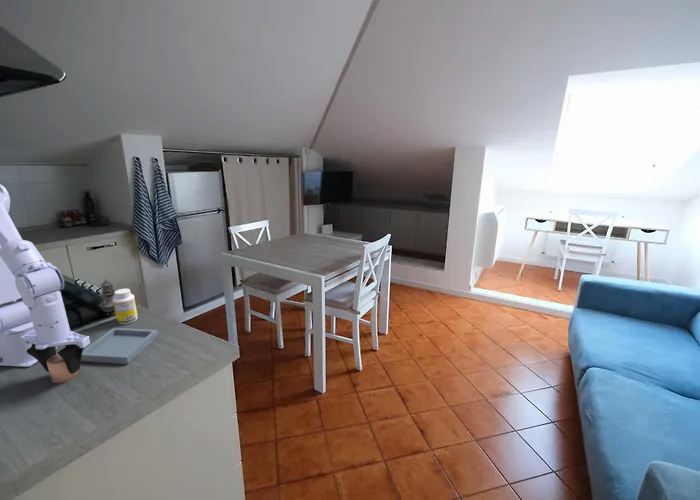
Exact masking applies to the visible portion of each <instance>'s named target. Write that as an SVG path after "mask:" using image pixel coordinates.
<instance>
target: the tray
mask: <svg viewBox="0 0 700 500" xmlns="http://www.w3.org/2000/svg"><path fill="white" fill-rule="evenodd" d="M158 337H159V329H148V328H147V329H145V328H130V327H128V328H127V327H126V328H125V327H113V328H112V329H110V330H108V332H106V333H105V334H104V335H101V336H100V337H99V338H97V339H96V340H95V341H93V342H92V343H90V344H89V345H87V346H86V347H85V348H84V350H83V353H82V356H81V362H84V363H87V362H88V363H101V364H102V363H103V364H104V363H105V364H118V365H119V364H120V365H121V364H123V365H129V364H130V363H131V362H133V360H135V358H137V356H139V355H140V354H141V353H142V352H143V351H144V350H145V349H147V347H148V346H149V345H151V344H152V343H153V342H154V341H155V340H156V339H157V338H158Z"/></svg>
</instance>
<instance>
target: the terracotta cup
mask: <svg viewBox="0 0 700 500" xmlns="http://www.w3.org/2000/svg"><path fill="white" fill-rule="evenodd" d="M46 363H47V366H48V370H49V372H48V374H49V377H50V380H51V382H52V383H53V384H63V383H66V382H69V381H71V380H73V379H74V378H76V377H77V376H78V375H79V373H80V371H79V370H80V369H79V370H78V371H76V372H75V373H74V374H70V372H69V371H68V368H67V365H66V363H65V361H64V360H63V358H62V357H61V356H60V355H59V354H58V353H56V355H54V356H52V357H51V358H49V359H48V360H47V362H46Z"/></svg>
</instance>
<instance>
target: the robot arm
mask: <svg viewBox="0 0 700 500" xmlns="http://www.w3.org/2000/svg"><path fill="white" fill-rule="evenodd" d="M10 209H11V197H10V194H9V192H8V190H7V188H6V187H5V186H4V185H3V184H1V183H0V357H2V358H3V362H1V363H0V366H7V367H23V368H29V367H31V366H33V365H35V364H36V363H37V362H39V364H40V365H41V367H42V368H43V369H44V370H45V371H46V372H47V373H49V370H48V366H47V363H46V362H47V360H48V359H49V358H51V357H52V356H54V355H57V354H59V355H60V356H61V357H62V358H63V360H64V361H65V363H66V365H67V368H68V371H69V372H70V374H74V373H75V372H76V371H78V370H80V369H81V363H82V361H81V356H82V353H83V350H84V349H85V348H87V347H88V346H89V345H91V341H90V336H89V335H83V334H80V333H77V332H75V331H72V330H71V327H70V324H69V320H68V316H67V311H66V308H65V303H64V301H63V296H62V292H61V290H63V289H64V288H65V280H64V277H63V275H62V273H61V271H60V269H58V267H57V266H55V265H53V264H52V263H51V262H49V261H48V262H46V260H45V259H44V257H43V256H42V254H40V252H39V250H38V249H37V247H36V246H35V244H34V243H33V242H32V241H30V240H26V239H25V240H24V239H23V237H22V236H21V234H20V233H19V231H18V229H17V227H16V226H15V224H14V222H13V220H12V218H11V216H10V214H9V213H10ZM60 346H65V347H63V348H62V349H60V350H59V351H56V350H57V349H58V347H60Z"/></svg>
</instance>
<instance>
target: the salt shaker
mask: <svg viewBox="0 0 700 500" xmlns="http://www.w3.org/2000/svg"><path fill="white" fill-rule="evenodd" d="M100 286H101V290H102V292H101V295H102V296H103V297H102V298H103V302H100V304H99V308H101V310H102V311H103V312H109V313H113V312H115V309H114V304H113V298H114V297H115V291H116V290H115V289H114V286H113V283H112V282H111V281H108V279H105V280H104V281H103V282H102V283H101V284H100Z"/></svg>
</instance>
